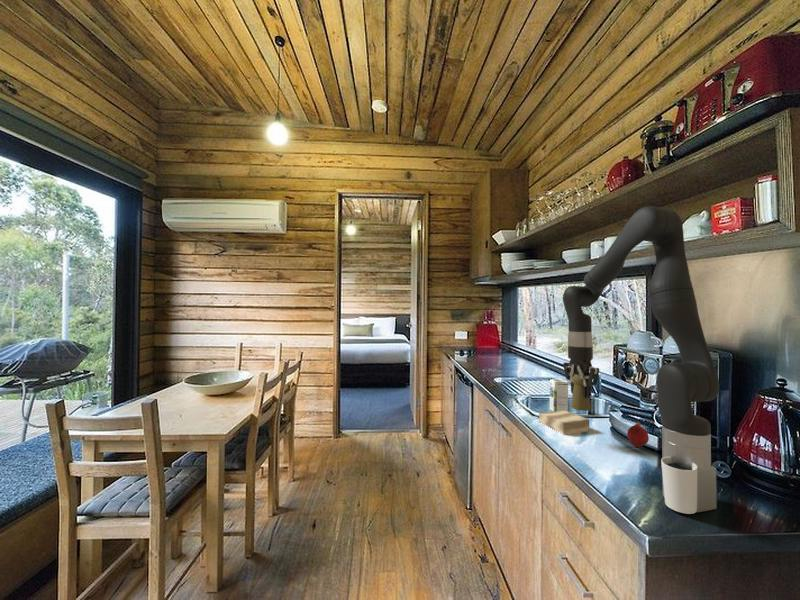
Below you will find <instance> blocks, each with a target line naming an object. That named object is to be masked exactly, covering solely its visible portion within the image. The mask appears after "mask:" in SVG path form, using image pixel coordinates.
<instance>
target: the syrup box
mask: <svg viewBox="0 0 800 600" xmlns="http://www.w3.org/2000/svg"><path fill="white" fill-rule="evenodd" d="M562 410H564V411H567V412H569V381H565V380H563V379H560V378H559V379H557V378H551V379H549V412H554V411H562Z"/></svg>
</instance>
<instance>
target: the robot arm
mask: <svg viewBox="0 0 800 600" xmlns="http://www.w3.org/2000/svg"><path fill="white" fill-rule="evenodd" d="M684 238H685V237H684V227H683V222H682V219H681V216H680V215H679V213H677V212H676V211H674V210H673V209H670V208H663V207H657V206H654V205H653V206H652V205H648V206H647V205H646V206H644V207H641V208H639V209H637V210H636V212H634V213H633V215H632V216H631V217H630V218H629V219H628V221H627V222H626V224H625V225H624V227H623V228H622V229H621V230H620V232H619V234H617V237H616V238H615V239H614V241H613V242H612V244H611V245H610V247H609V248H608V250H607V251H606V252H605V253H604V255H603V256H602V257H601V258H600V259H599V260H598V261H597V262H596V264H595V265H594V266H592V268H591V269H590V270H588V272H587V273H586V274H585V275H584V278H583V282H584V285H583V286H582V285H577V286H576V285H571V286H568V287H567V288H565V290H564V292H563V295H562V302H563V305H564V309H565V313H566V315H567V319H568V336H567V358H568V359H569V362H563V364H562V365H563V370H564V375H565V380H566V381H568V382H569V383H570V392H571V394H572V395H573V388H574V384H573V382H572V377H573V376H574V375H580V378H581V379H582V380H583V385H584V386H583V397H584V398H589V399H590V398H591V396H592V387H593V386H597V384H598V379H599V373H600V368H599V367H595V366H593V365H592V360H593V359H594V345H593V344H594V341H593V340H594V338H593V332H592V330H593V329H592V322H593V321H592V317H591V315H590V314H587V313H584V311H583V309H582V308H587V307H591V306H593V305H594V304H596V302H597V301H598V300H599V298H600V297H601V295H602V293H604V290H605V289H606V288H607V286H609V285H610V284H611V283H612V282H613V281H614V280H615V279H616V278H617V277H618V276H619V275H620V274H621V272H622V270H623V268H624V265H625V263H626V259H627V257H628V256H629V254H630V253H631V252H632V251H633V249H634V248H636V247H637V246H638V245H640V244H641V243H643V242H651V244H652V247H653V250H654V255H655V268H654V271H653V274H652V276H651V279H650V282H649V284H648V285H649V287H648V295H649V301H650V306H651V309H652V313H653V316H654V317H655V319H656V320H657V322H658V323H659V324H660V325H661V327H662V328H663V329H664V330H665V331H666V332H667V333H668V335H669V336H670V337H671V338H672V339H673V341H674V342H675V344H676V346H677V349H678V351H679V354H680V358H681V362H676V363H675V362H674V363H673V362H671V363H670V362H669V363H665V364H663V365H662V366H660V368H659V370H658V371H657V374H656V375H657V376H656V393H657V404H658V405H657V409H658V412H659V416H660V418H661V424H662V425H661V430H662V431H661V448H662V449H661V450H662V451H661V452H662V453H661V454H662V455H661V456H662V458H664V457H671V464H674V463H677V464H679V465H680V466H681V467H685V468H690V469H692V463H694V464H696V465H697V512H696V513H701V512H707V511H712V510H717V469H716V467H714V466H712V451H711V450H712V449H711V448H712V447H711V446H712V443H711V441H712V435H711V434H712V433H711V431H712V430H711V429H712V428H711V427H712V426H711V423H710V421H709V420H708V419H706V418H705V417H701V416H700V415H696V414H694V413H693V407H692V403H695V402H696V403H699V402H711V401H713V400H715V399H716V398H717V397H718V395H719V394H720V393H719V392H720V381H719V379H720V378H719V375H718V373H717V368H716V367H715V364H714V361H713V358H712V356H711V353H710V350H709V347H708V344H707V341H706V338H705V334H704V330H703V327H702V322H701V320H700V319H701V318H700V315H699V309H698V304H697V300H696V299H697V298H696V295H695V290H694V287H693V283H692V279H691V275H690V270H689V269H690V268H689V265H688V260H687V257H686V256H687V255H686V249H685V239H684ZM585 376H586V377H585ZM586 379H588V382H587V381H586ZM662 458H661V459H662ZM661 475H662V474H661ZM662 477H663V475H662ZM662 496H663V497H664V498H665V496H664V485H663V484H662Z"/></svg>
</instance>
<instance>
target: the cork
mask: <svg viewBox="0 0 800 600" xmlns="http://www.w3.org/2000/svg"><path fill="white" fill-rule="evenodd" d="M586 376H587V375H586ZM586 376H585V377H586ZM586 381H587V382H588V379H586ZM572 382H573V384H574V388H573V394H572V397H571V404H570V408H571V409H573V410H577V411H586V412H587V411H592V407H591V400H590V398H584V397H583V386H584V385H583V380H582V379H581V378H580V375H574V376H573V377H572Z"/></svg>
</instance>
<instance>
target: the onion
mask: <svg viewBox="0 0 800 600" xmlns="http://www.w3.org/2000/svg"><path fill="white" fill-rule="evenodd" d="M626 433H627V434H626V436H627V439H628V441H629V442H630V443H631V444H632V445H633V446H635V447H636V448H642V447H643V446H645V445H646V444H647V443H649V433H648V431H647V430H646V429H645V428H644V427H643V426H641V422H635V424H634V425H632V426H630V427H629V428H628V429H627V432H626Z"/></svg>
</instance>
